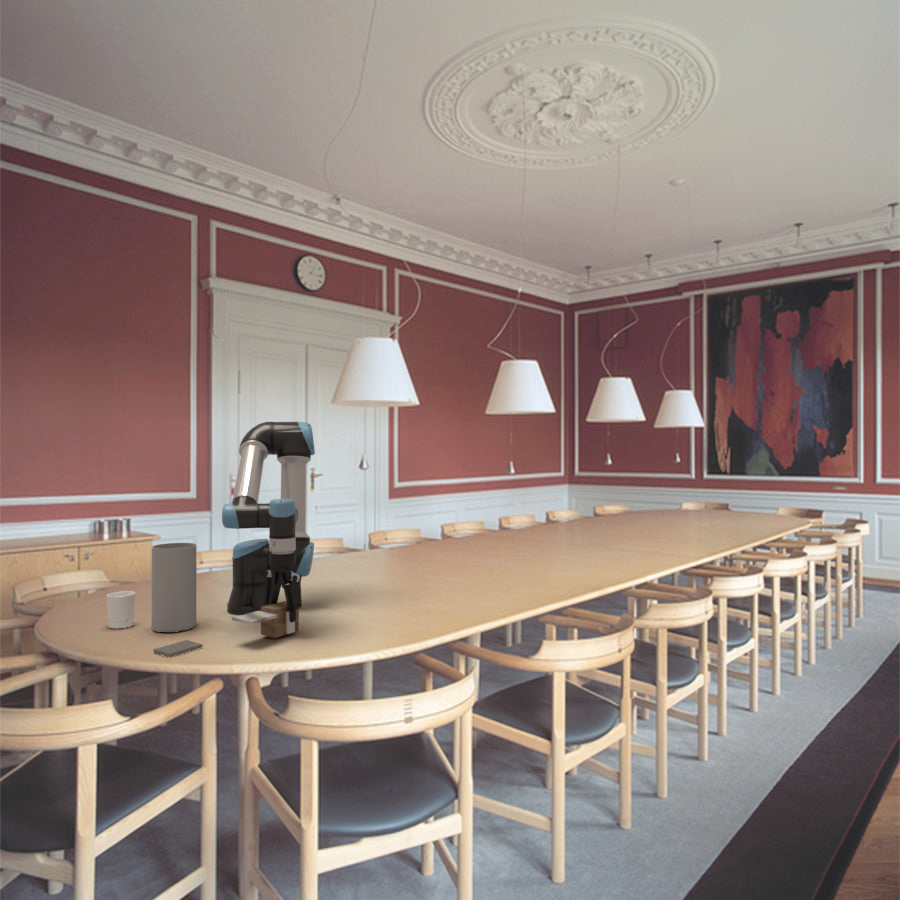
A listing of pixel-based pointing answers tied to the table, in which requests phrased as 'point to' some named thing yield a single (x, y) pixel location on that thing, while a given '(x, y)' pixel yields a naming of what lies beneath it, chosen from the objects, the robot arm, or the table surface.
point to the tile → (177, 648)
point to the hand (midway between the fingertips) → (282, 630)
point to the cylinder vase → (173, 587)
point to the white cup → (121, 609)
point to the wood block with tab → (270, 619)
